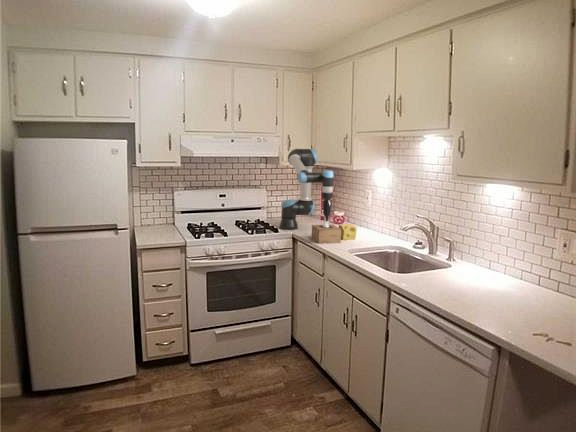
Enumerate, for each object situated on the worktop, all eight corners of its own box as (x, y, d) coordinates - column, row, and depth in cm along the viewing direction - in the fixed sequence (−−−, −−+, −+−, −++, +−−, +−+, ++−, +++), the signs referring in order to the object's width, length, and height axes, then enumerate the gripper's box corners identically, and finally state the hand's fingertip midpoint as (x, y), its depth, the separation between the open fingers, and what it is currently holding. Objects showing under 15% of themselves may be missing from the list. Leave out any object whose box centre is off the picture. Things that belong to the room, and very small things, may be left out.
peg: (321, 237, 306) (322, 225, 304) (327, 237, 307) (328, 224, 305) (323, 238, 301) (324, 226, 300) (330, 238, 302) (330, 226, 301)
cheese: (343, 240, 307) (343, 226, 305) (337, 237, 317) (337, 224, 315) (356, 239, 310) (356, 226, 308) (350, 236, 320) (350, 223, 318)
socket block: (311, 238, 311) (311, 224, 310) (332, 237, 315) (332, 223, 313) (318, 243, 294) (319, 229, 292) (340, 243, 298) (341, 228, 296)
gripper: (319, 191, 304) (318, 223, 308) (325, 193, 292) (324, 227, 295) (329, 191, 306) (328, 223, 310) (335, 193, 293) (334, 226, 297)
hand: (326, 225), depth 302 cm, fingers closed
